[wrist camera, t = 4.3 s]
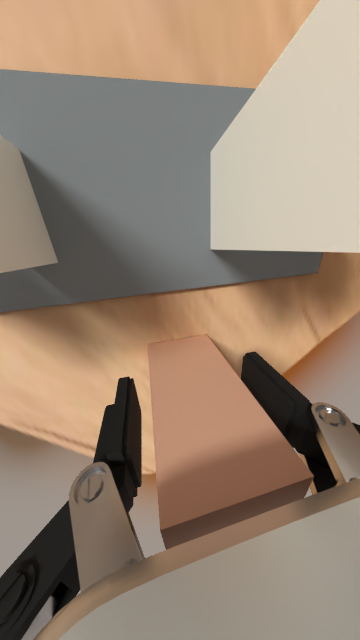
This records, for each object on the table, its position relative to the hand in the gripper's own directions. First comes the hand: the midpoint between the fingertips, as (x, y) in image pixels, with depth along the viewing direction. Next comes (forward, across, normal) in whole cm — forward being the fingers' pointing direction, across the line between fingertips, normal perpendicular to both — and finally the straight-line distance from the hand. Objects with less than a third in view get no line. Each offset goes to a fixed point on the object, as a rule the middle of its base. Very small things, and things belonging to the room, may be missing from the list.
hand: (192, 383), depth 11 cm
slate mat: (+4, +2, -10) cm, 11 cm away
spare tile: (+4, 0, 0) cm, 4 cm away
